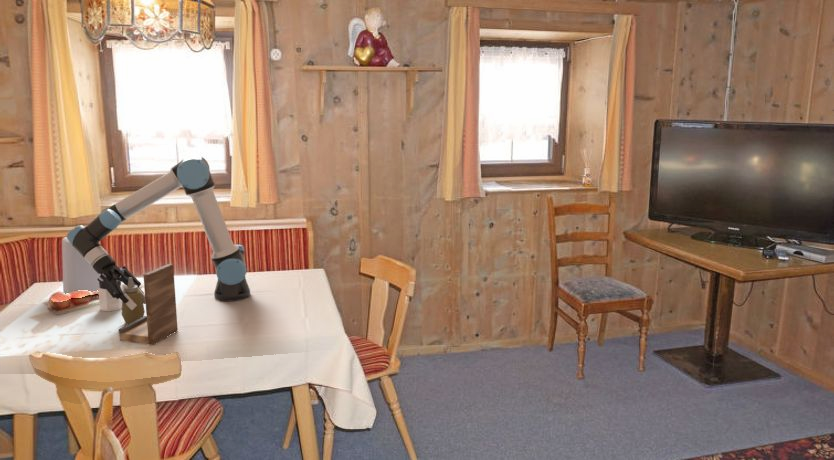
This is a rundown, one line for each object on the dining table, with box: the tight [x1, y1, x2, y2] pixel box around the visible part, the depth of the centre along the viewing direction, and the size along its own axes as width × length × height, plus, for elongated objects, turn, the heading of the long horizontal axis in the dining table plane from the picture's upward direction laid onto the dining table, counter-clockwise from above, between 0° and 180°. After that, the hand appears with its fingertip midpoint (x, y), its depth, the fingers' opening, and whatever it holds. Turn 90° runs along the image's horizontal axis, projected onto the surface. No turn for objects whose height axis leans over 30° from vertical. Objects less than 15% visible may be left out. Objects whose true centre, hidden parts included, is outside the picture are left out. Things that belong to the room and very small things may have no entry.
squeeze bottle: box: [121, 277, 146, 325], centre depth 236 cm, size 8×8×18 cm
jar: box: [98, 280, 124, 312], centre depth 251 cm, size 9×8×12 cm
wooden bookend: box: [118, 263, 179, 346], centre depth 222 cm, size 14×14×26 cm
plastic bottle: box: [61, 236, 101, 294], centre depth 268 cm, size 15×15×28 cm
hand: (140, 304), depth 236 cm, fingers closed on squeeze bottle, 6 cm apart
